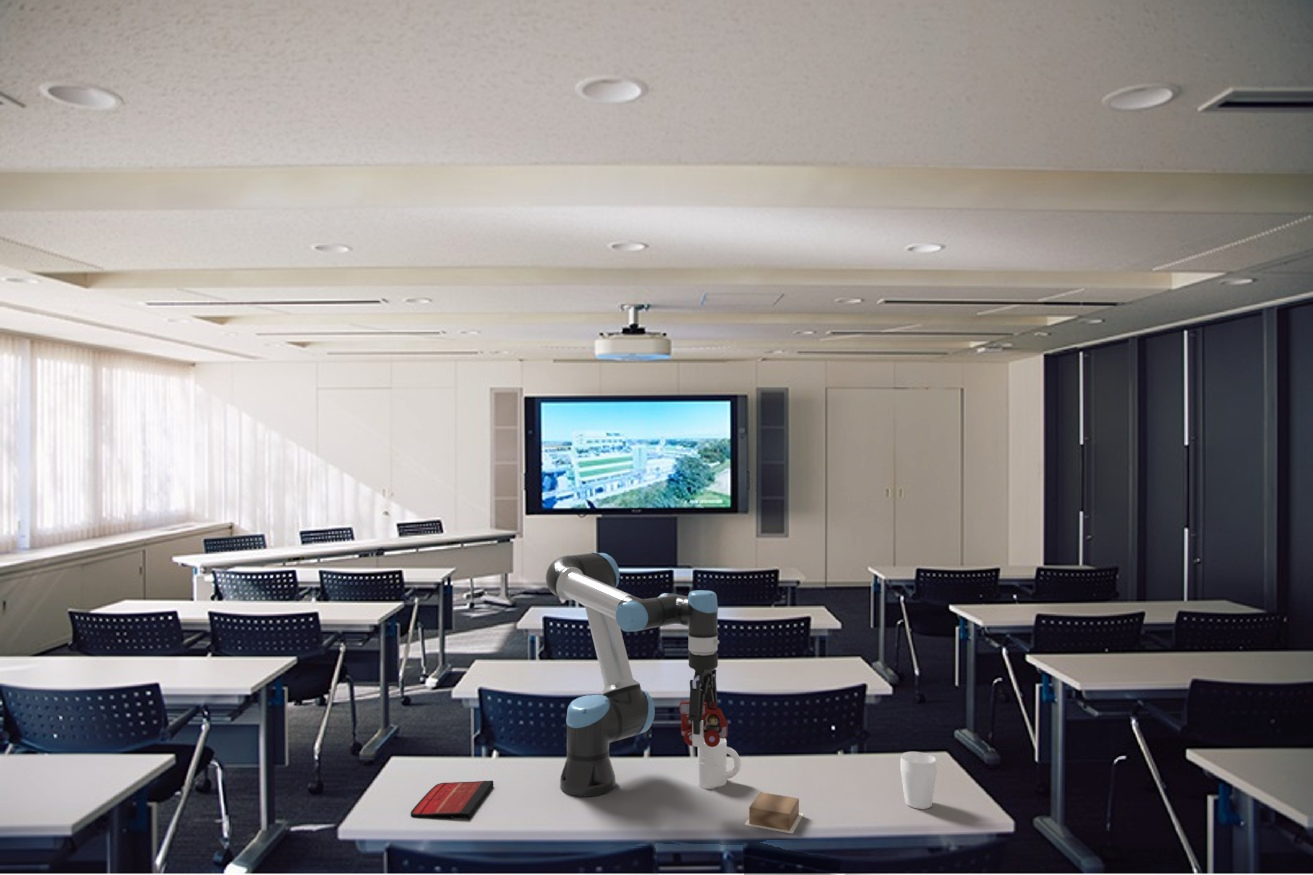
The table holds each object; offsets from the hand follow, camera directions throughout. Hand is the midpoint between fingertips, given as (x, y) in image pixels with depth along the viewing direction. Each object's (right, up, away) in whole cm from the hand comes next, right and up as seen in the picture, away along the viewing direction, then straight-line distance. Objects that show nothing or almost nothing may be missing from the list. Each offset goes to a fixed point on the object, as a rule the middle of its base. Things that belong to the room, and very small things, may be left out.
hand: (703, 740), depth 213 cm
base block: (+17, -17, -7) cm, 25 cm away
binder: (-66, -18, +4) cm, 68 cm away
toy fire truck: (0, -1, 0) cm, 1 cm away
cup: (+56, -18, +3) cm, 59 cm away
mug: (+5, -18, +16) cm, 25 cm away
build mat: (+17, -17, -7) cm, 25 cm away
